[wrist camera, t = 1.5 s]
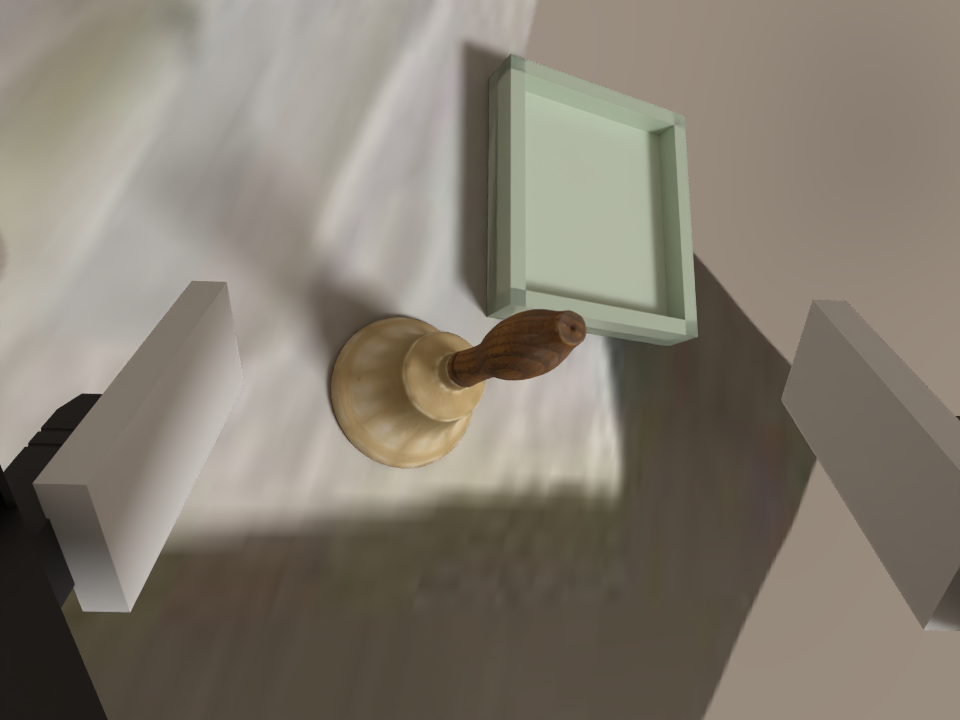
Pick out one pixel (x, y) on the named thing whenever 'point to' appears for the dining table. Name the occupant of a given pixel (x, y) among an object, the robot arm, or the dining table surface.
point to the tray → (588, 206)
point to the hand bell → (436, 379)
